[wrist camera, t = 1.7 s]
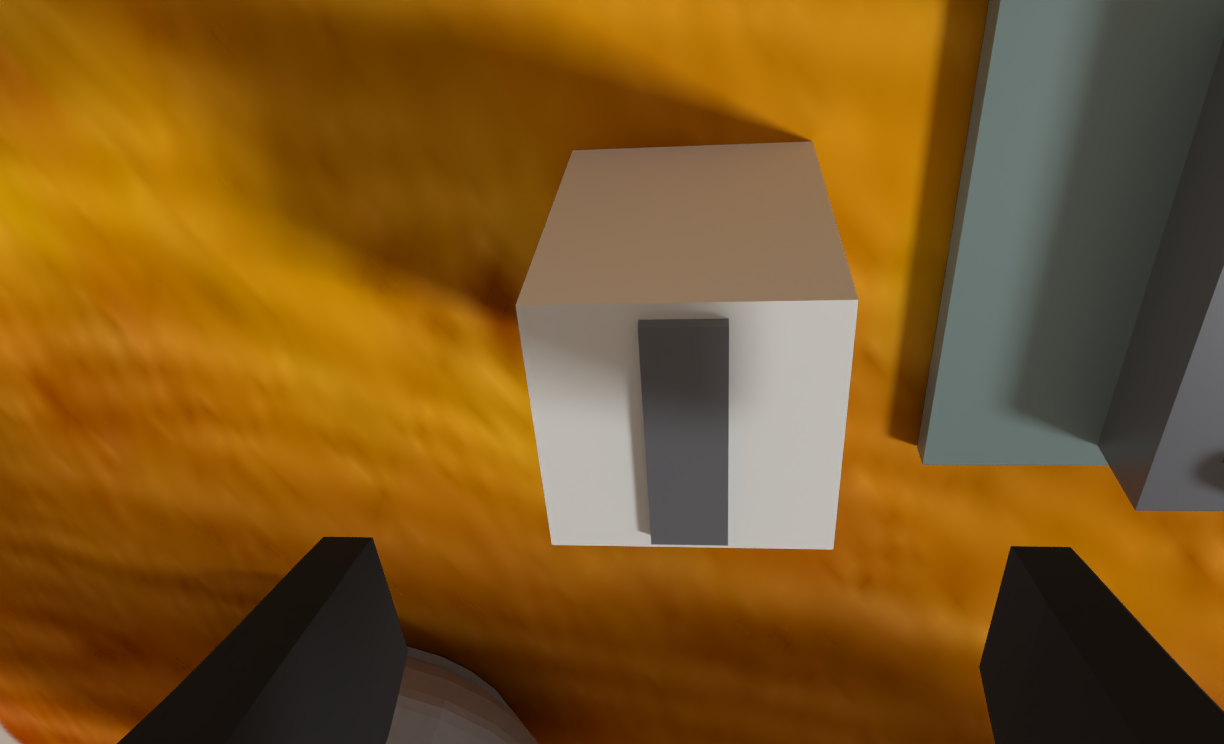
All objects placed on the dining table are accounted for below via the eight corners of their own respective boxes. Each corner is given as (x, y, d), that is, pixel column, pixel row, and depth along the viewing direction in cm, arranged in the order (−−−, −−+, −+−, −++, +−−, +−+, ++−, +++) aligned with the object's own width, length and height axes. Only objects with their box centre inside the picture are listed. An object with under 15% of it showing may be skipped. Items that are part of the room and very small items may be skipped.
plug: (799, 345, 19) (834, 558, 13) (592, 347, 19) (550, 553, 14) (812, 140, 16) (860, 308, 11) (572, 149, 17) (512, 313, 12)
